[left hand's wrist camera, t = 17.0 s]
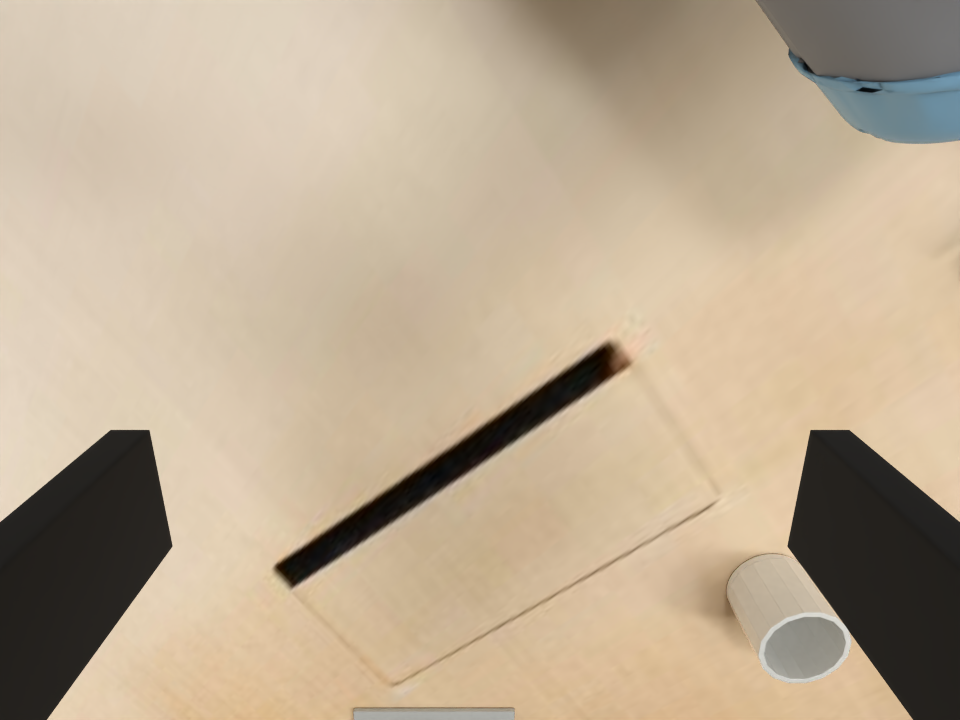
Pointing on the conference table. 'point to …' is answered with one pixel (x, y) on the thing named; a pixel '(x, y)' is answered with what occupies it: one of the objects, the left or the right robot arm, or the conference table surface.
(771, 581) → the white cup
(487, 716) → the grey mat
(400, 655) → the conference table surface
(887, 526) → the left robot arm
